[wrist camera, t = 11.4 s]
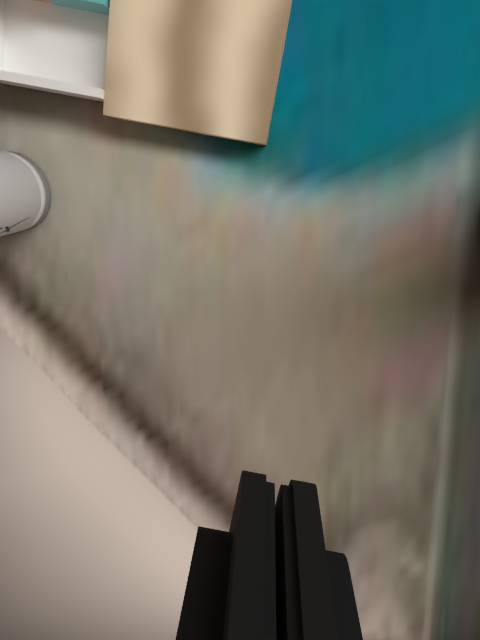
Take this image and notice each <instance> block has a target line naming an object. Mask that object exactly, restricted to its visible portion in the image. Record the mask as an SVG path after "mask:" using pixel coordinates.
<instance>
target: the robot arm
mask: <svg viewBox="0 0 480 640" xmlns="http://www.w3.org/2000/svg"><path fill="white" fill-rule="evenodd" d="M176 640H363V638H362V633H361V627H360V622H359V617H358V612H357V607H356V602H355V596H354V591H353V586H352V581H351V576H350V571H349V565H348V562H347V558H346V556H345V555H344V554H343V553H337V552H332V551H327V550H325V543H324V536H323V529H322V522H321V515H320V508H319V501H318V494H317V487H316V485H315V484H312V483H307V482H302V481H296V480H291V481H290V483H289V486H287V485H281V486H280V489H279V493H278V497H277V501H276V505H275V485H274V483H271V482H266V475H264V474H259V473H254V472H248V471H242V473H241V478H240V483H239V487H238V492H237V497H236V502H235V506H234V511H233V516H232V521H231V525H230V530H229V532H225V531H220V530H215V529H209V528H204V527H198V531H197V536H196V541H195V546H194V551H193V556H192V561H191V566H190V571H189V576H188V581H187V586H186V591H185V596H184V601H183V606H182V611H181V616H180V621H179V626H178V631H177V636H176Z"/></svg>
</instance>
